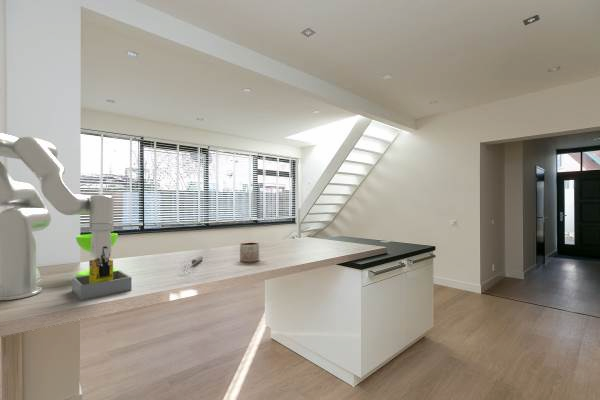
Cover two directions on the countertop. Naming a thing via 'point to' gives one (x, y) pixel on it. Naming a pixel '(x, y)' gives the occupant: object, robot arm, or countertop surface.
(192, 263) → the kitchen whisk
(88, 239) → the wineglass
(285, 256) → the countertop surface
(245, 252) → the planter
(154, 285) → the countertop surface
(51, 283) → the countertop surface
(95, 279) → the supplement box
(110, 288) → the bin
